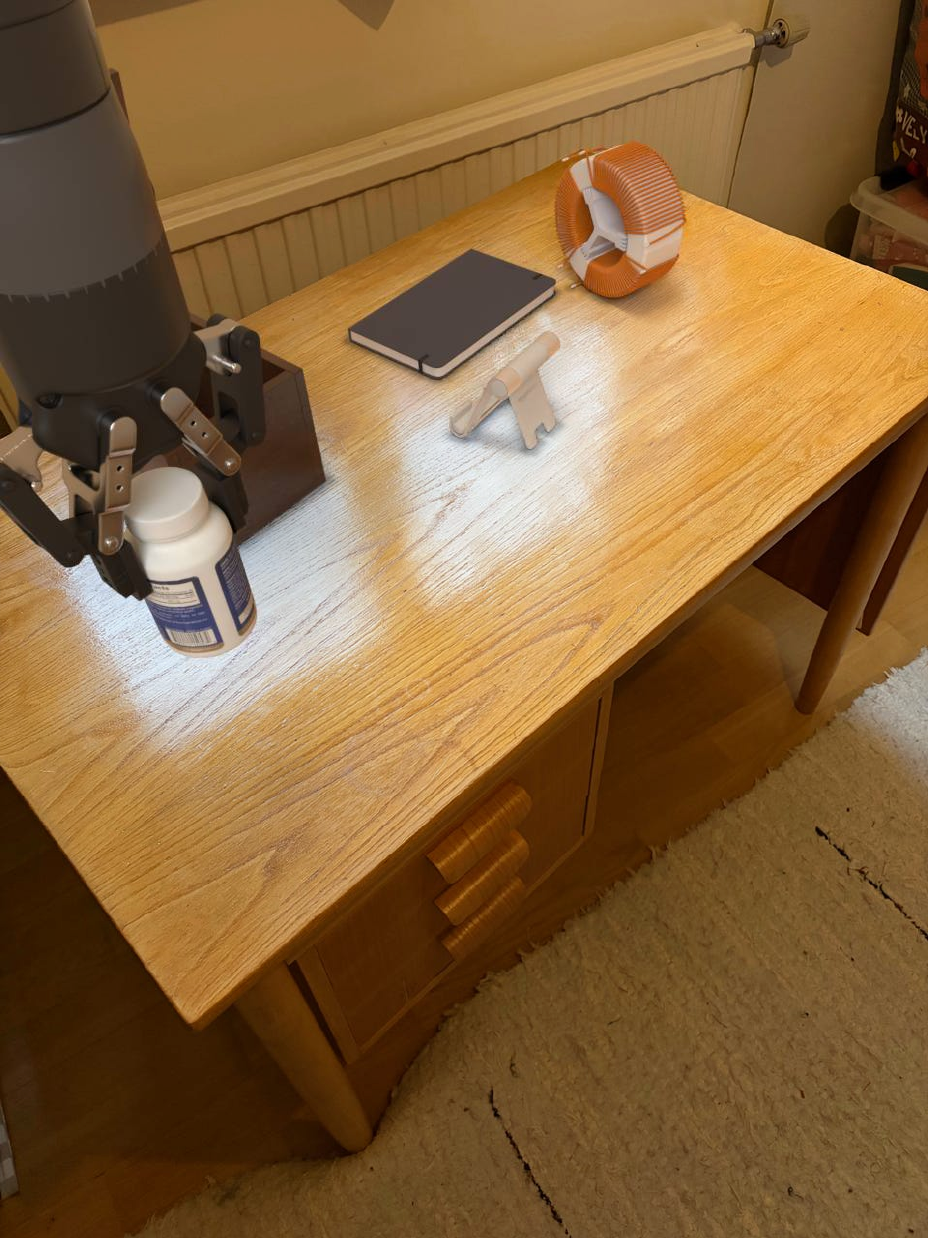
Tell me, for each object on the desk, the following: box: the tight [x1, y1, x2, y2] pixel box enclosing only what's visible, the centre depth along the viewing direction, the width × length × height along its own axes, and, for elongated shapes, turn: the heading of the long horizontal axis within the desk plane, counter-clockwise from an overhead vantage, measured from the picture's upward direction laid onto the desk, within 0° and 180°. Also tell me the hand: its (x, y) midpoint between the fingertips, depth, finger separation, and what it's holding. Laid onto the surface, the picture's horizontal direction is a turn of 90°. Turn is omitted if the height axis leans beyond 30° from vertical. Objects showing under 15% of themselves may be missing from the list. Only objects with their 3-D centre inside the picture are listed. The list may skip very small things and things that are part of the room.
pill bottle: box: [123, 467, 258, 659], centre depth 45 cm, size 5×5×10 cm
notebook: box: [347, 248, 557, 380], centre depth 97 cm, size 13×2×21 cm
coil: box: [553, 140, 688, 299], centre depth 95 cm, size 7×15×15 cm, turn 37°
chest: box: [132, 311, 327, 548], centre depth 76 cm, size 18×14×12 cm
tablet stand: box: [449, 330, 561, 450], centre depth 82 cm, size 9×8×8 cm
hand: (183, 555), depth 45 cm, fingers closed on pill bottle, 5 cm apart
